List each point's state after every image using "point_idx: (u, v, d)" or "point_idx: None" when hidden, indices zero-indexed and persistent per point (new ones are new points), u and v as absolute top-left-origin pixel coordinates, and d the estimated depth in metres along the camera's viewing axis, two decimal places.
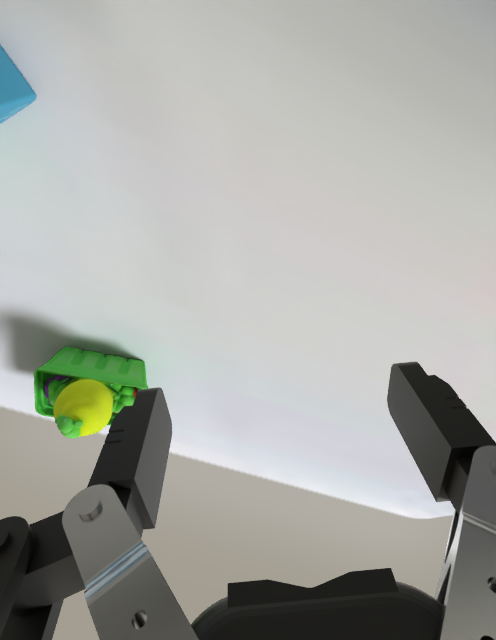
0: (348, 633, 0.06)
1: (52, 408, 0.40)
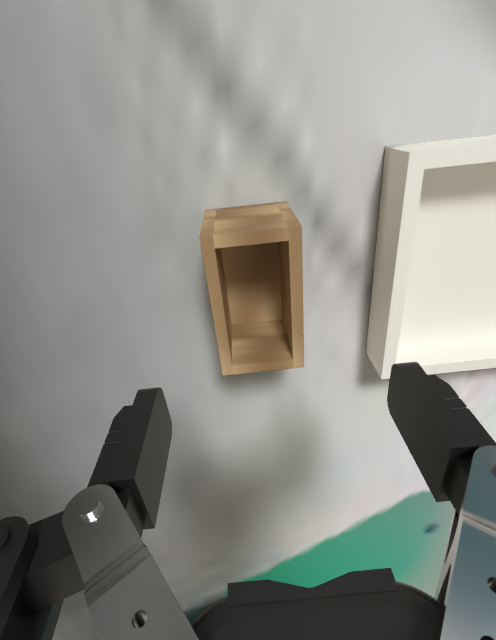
0: (348, 633, 0.06)
1: None
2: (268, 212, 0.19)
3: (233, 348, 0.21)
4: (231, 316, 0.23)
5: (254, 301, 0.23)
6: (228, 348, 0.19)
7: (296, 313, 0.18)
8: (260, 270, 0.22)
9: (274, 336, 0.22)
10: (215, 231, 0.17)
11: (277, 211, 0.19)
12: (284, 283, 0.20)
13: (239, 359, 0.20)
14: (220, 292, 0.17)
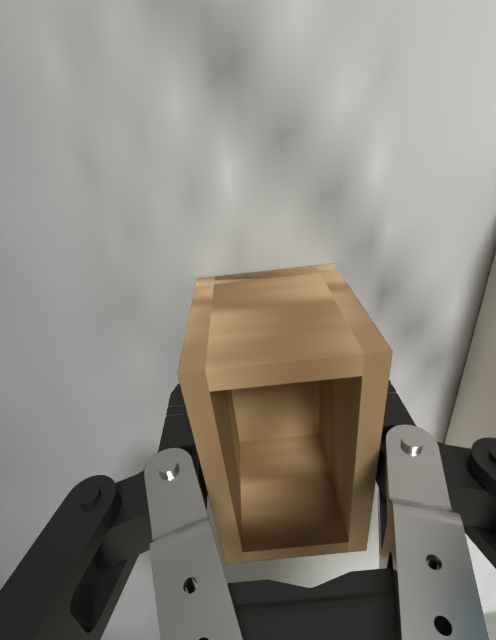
0: (348, 633, 0.06)
1: None
2: (309, 294, 0.10)
3: (243, 502, 0.13)
4: (239, 431, 0.15)
5: (276, 411, 0.14)
6: (236, 531, 0.11)
7: (362, 483, 0.10)
8: None
9: (310, 475, 0.13)
10: (211, 352, 0.08)
11: (325, 292, 0.10)
12: (331, 405, 0.12)
13: (255, 533, 0.12)
14: (221, 457, 0.09)
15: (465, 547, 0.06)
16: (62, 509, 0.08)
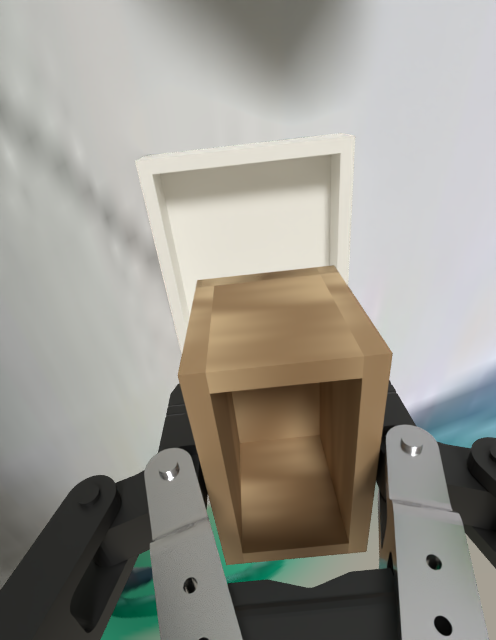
0: (348, 633, 0.06)
1: None
2: (309, 295, 0.10)
3: (244, 503, 0.13)
4: (239, 432, 0.15)
5: (276, 412, 0.14)
6: (236, 532, 0.11)
7: (362, 485, 0.10)
8: None
9: (310, 476, 0.13)
10: (211, 354, 0.08)
11: (325, 293, 0.10)
12: (332, 406, 0.12)
13: (255, 534, 0.12)
14: (221, 459, 0.09)
15: (465, 547, 0.06)
16: (62, 509, 0.08)
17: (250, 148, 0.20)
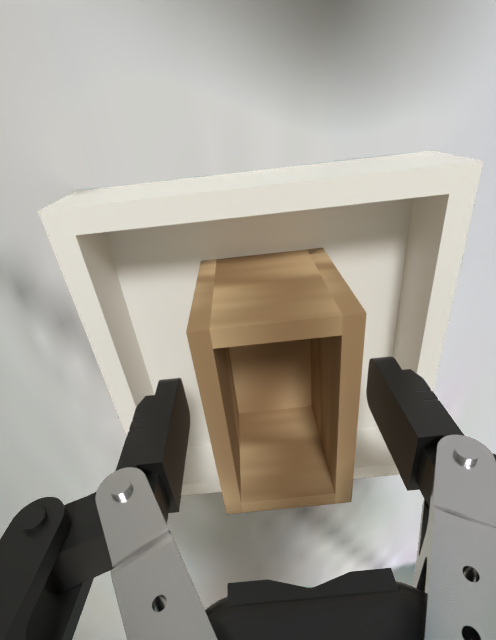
0: (348, 633, 0.06)
1: None
2: (299, 271, 0.12)
3: (242, 462, 0.14)
4: (238, 403, 0.16)
5: (272, 384, 0.16)
6: (235, 481, 0.12)
7: (345, 436, 0.11)
8: (281, 344, 0.15)
9: (302, 440, 0.15)
10: (214, 317, 0.10)
11: (313, 270, 0.12)
12: (320, 373, 0.13)
13: (252, 487, 0.13)
14: (223, 410, 0.11)
15: None
16: (5, 539, 0.08)
17: (270, 185, 0.10)
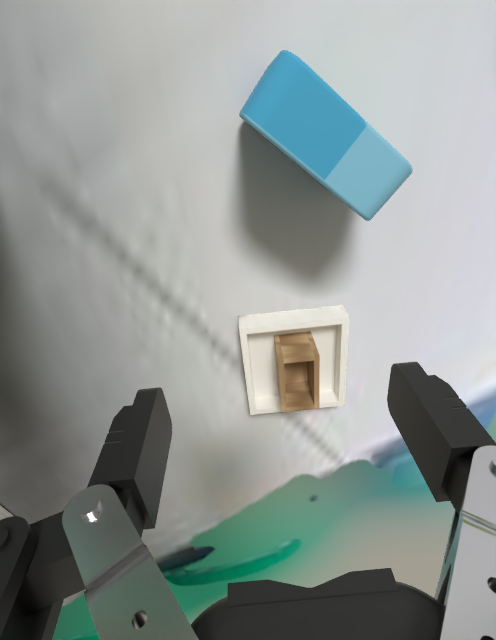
0: (348, 633, 0.06)
1: None
2: (303, 341, 0.42)
3: (285, 398, 0.45)
4: None
5: (294, 373, 0.46)
6: (285, 400, 0.43)
7: (316, 386, 0.42)
8: None
9: (304, 391, 0.45)
10: (283, 355, 0.40)
11: (307, 341, 0.42)
12: (310, 369, 0.44)
13: (289, 404, 0.44)
14: (284, 378, 0.41)
15: None
16: None
17: (296, 322, 0.41)
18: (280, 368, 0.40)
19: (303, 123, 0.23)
